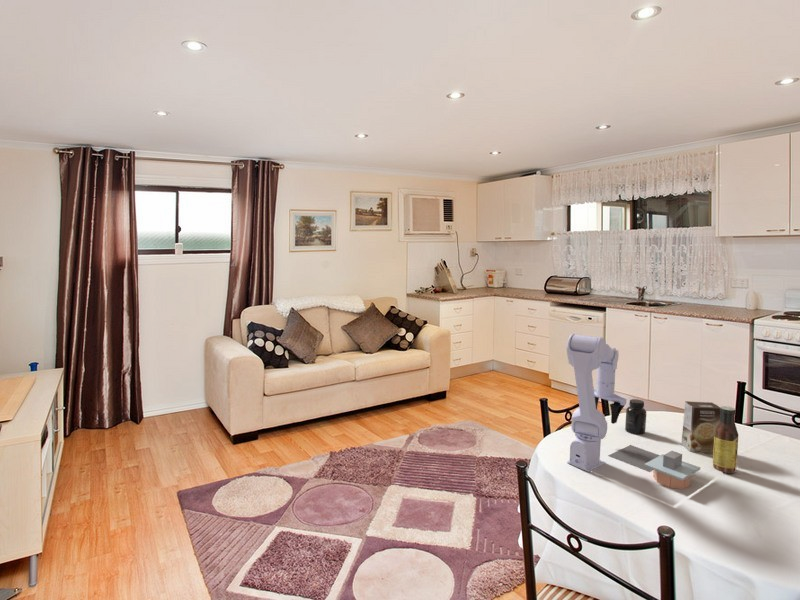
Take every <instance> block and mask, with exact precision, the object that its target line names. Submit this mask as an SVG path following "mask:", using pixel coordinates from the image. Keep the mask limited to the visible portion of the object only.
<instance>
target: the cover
mask: <svg viewBox="0 0 800 600" xmlns="http://www.w3.org/2000/svg"><path fill="white" fill-rule="evenodd" d="M659 455H660V454H659ZM644 466H646V467H648V468H651V469H654V470H656V471H659V472H661V473H664V474H667V475H669V476H672V477H675V478H677V479H680V480H682V481H683V480H684V479H686V478H687V477H689V476H690V477H691V476H692V475H694V474H696V472H699V471H700V470H701V467H700V466H697V465H694V464H691V463H689V462H686V461H683V453H679V452H677V451H674V450H671V451H669V452H666V453H665V454H661V455H660V456H658V457H657V458H655V459H653V460H651V461H649V462H647V463H645V464H644Z"/></svg>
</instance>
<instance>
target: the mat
mask: <svg viewBox="0 0 800 600" xmlns="http://www.w3.org/2000/svg"><path fill="white" fill-rule="evenodd" d="M658 456H660V454H658V453H655V452H651V451H649V450H646V449H643V448H640V447H638V446H634V445H632V444H629V445H627V446H625V447H623V448H621V449H618V450H617V451H614V452H613V453H609V454H608V455H607V457H609V458H613V459H615V460H617V461H619V462H622V463H625V464H628V465H630V466H633V467H635V468H638V469H641V470H643V471H646V472H649V473H650V472H653V469H651V468H648V467H646V466H644V464H645V463H647V462H649V461H651V460H653V459H655V458H657V457H658Z"/></svg>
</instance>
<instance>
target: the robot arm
mask: <svg viewBox="0 0 800 600" xmlns="http://www.w3.org/2000/svg"><path fill="white" fill-rule="evenodd" d="M566 354H567V355H566V356H567V361H568V364H569V365H571V366H572V367H573V372H574V378H575V386H576V391H577V392H576V393H577V399H578V405H579V406H578V408H576V409H575V410H574V411H573V413H572V416H571V430H572V432H573V433H574V436H575V439H574V440H573V441H572V442H571V443H570V445H569V460H567V461H566V463H567V464H569V465H571V466H574V467H577V468H578V469H581V470H583V471H585V472H589V473H590V472H591V471H592V470H595V469H596V468H598V467H600V466H602V465H604V464H606V462H605V461H603V460H602V459H601V443H602V440H604V438H606V436H607V432H608V422H607V420H606V417H605V414H604V413H603V412H601V411H600V410H598V404H599V401H600V400H601V399H602V400H605V401H608V402H612V403H611V404H609V407H610V411H611V412H610V413H611V415H610V416H611V418H610V422H611V424H612V425H613V424H617V422H618V419H619V416H620V413H621V412H622V410H623V409H624V407H625V405H627V398H624V397H622V396H619V395H618V394H615V386H616V385H615V384H616V383H615V382H616V370H617V369H618V368H617V367H618V361H619V350H618V349H616V347H611V346H610V345H609V344H607V342H606V340H605V338H604V337H602V336H599V337H598V336H588V335H582V334H575V333H571V334H570V335H569V337H568V338H567V342H566ZM594 370H596V389H594V380H593V371H594Z"/></svg>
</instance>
